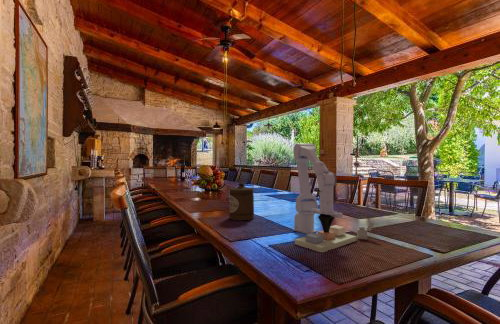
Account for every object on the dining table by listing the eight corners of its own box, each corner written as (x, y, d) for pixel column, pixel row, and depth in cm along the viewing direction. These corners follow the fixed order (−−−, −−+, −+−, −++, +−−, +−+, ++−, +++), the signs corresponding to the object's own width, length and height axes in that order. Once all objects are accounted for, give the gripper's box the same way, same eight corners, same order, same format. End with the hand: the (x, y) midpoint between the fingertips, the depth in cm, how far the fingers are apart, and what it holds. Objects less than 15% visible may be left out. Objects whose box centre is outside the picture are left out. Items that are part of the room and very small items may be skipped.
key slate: (306, 241, 117) (306, 234, 117) (313, 239, 120) (313, 232, 120) (315, 244, 113) (315, 237, 113) (323, 242, 116) (323, 235, 116)
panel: (294, 244, 119) (294, 239, 119) (329, 234, 135) (329, 229, 135) (321, 252, 108) (321, 247, 108) (356, 240, 124) (356, 236, 124)
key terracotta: (317, 238, 122) (317, 231, 122) (324, 236, 125) (324, 229, 125) (327, 241, 118) (327, 234, 118) (334, 239, 121) (334, 232, 121)
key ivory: (328, 233, 127) (328, 226, 127) (335, 231, 130) (335, 225, 130) (338, 235, 123) (338, 228, 123) (344, 233, 126) (344, 227, 126)
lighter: (357, 238, 127) (357, 221, 127) (357, 237, 129) (357, 220, 128) (374, 240, 125) (374, 222, 125) (373, 238, 127) (373, 221, 127)
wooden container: (226, 216, 174) (226, 181, 173) (249, 215, 178) (249, 180, 178) (232, 221, 160) (232, 183, 159) (257, 220, 164) (257, 182, 164)
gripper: (307, 199, 124) (307, 230, 124) (335, 203, 113) (335, 237, 113) (317, 198, 129) (317, 227, 129) (345, 202, 117) (345, 234, 118)
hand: (326, 232), depth 121 cm, fingers closed, pressing on key terracotta
